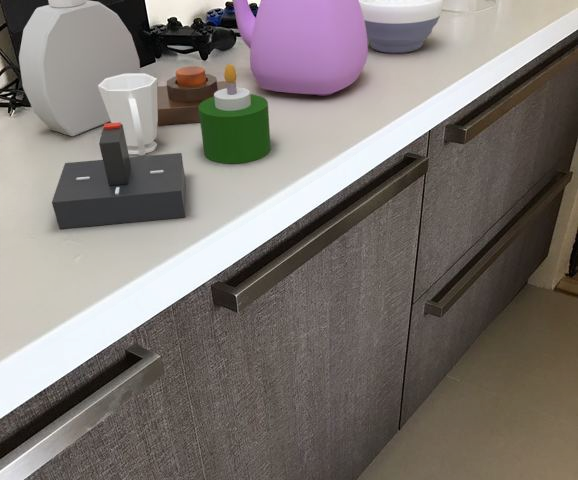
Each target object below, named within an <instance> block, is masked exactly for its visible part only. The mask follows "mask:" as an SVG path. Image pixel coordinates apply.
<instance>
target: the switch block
mask: <svg viewBox="0 0 578 480" xmlns="http://www.w3.org/2000/svg"><path fill="white" fill-rule="evenodd" d="M205 75H206V83H204V84H201V85H197V86H179V85H177V78H176V76H173V77H171V78H169V79H168V80H166V85H161V86H160V85H157V108H158V123H157V127H159V126H160V127H161V126H172V125H181V124H184V125H185V124H195V123H200V115H199V108H198V107H199V104H200V103H201V102H203V101H204V100H206V99H209V98H211V97H214V93H215V92H217V91H219V90H221V89H225V88H227V83H226V81H225V80H222V81H221V80H220V81H218V79H217V76H215V75H212V74H209V73H205Z"/></svg>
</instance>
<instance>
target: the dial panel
mask: <svg viewBox="0 0 578 480" xmlns="http://www.w3.org/2000/svg"><path fill="white" fill-rule="evenodd" d="M129 158H130V163H131V167H130V174H129V180H128V184H124V185H113V186H109V184H108V180H107V176H106V171H105V167H104V163H103V159H95V160H86V161H85V160H84V161H73V162H65V163H64V164H63V167H62V171H61V174H60V177H59V180H58V183H57V186H56V189H55V191H54V194H53V197H52V201H51V205H52V208H53V211H54V215H55V218H56V222H57V225H58V228H59V230H63V229H65V230H66V229H74V228H75V229H76V228H85V227H96V226H107V225H116V224H117V225H119V224H127V223H128V224H129V223H138V222H140V223H141V222H150V221H159V220H171V219H182V218H183V219H184V218H186V173H185V168H184V160H183V153H182V152H175V153H163V154H154V155H153V154H152V155H145V156H129Z"/></svg>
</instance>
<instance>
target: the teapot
mask: <svg viewBox="0 0 578 480" xmlns="http://www.w3.org/2000/svg"><path fill="white" fill-rule="evenodd" d="M231 1H232V4H233V9H234V15H235V20H236V25H237V30H238V32H239V35H240V37H241V39H242V41H243V43H244V44H245V45H246V46H247V47H248V49H250V50H249V51H250V52H249V55H250V56H249V64H250V66H249V67H250V71H251V74H252V76H253V78H254V80H255V81H256V83H257V84H258V86H259V87H260V88H261V89H263V90H267V91H272V92H276V93H289V94H302V95H316V96H319V97H327V96H331V95H333V94H334V93H336V92H339V91H341V90H343V89H346V88H347V87H349V86H350V85H352V84H353V83H355V82H356V81H357V80H358V78H359V76H360V75H361V73H362V71H363V69H364V68H365V65H366V63H367V60H368V56H369V55H368V54H369V53H368V52H369V50H368V47H369V45H368V39H367V33H366V26H365V21H364V17H363V13H362V10H361V6H360V3H359V0H260V2H259V5H258V8H257V12H256V16H255V15H254V13H253V12H252V10H251V7H250V4H249V1H248V0H231Z"/></svg>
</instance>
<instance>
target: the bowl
mask: <svg viewBox="0 0 578 480" xmlns="http://www.w3.org/2000/svg"><path fill="white" fill-rule="evenodd" d="M359 3H360V6H361V10H362V13H363V17H364V21H365V26H366V33H367V40H369V45H370V48H371V49H374V51H377V52H379V53H380V52H381V53H386V54H406V53H411V52H415V51H416V50H419V49H421V48H422V46H423V45H424V43H425V40H426V39H427V38H428V37H429V36H430V35H431V34H432V32H433V28H434V27H435V26H436V25H437V23H438V22H439V19H440V17H441V15H442V12H443V6H444V0H359Z"/></svg>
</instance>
